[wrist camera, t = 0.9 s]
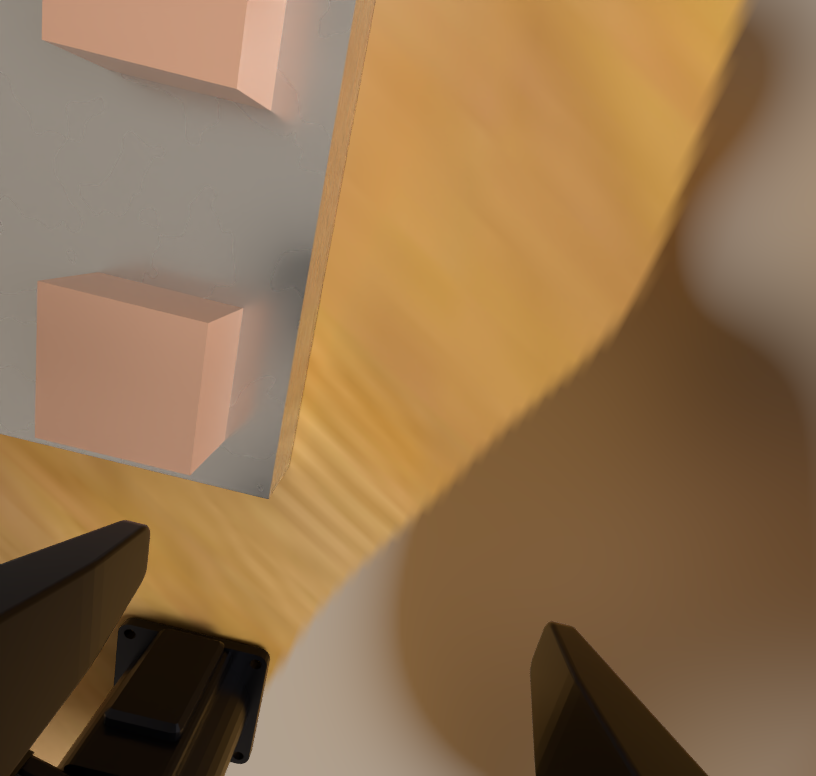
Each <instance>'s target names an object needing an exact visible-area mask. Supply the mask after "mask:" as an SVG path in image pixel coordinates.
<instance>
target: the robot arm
mask: <svg viewBox="0 0 816 776" xmlns="http://www.w3.org/2000/svg"><path fill="white" fill-rule="evenodd" d="M149 541H150V530H149V527H148V526H147V525H144V524H140V523H136V522H132V521H127V520H123V521H119V522H116V523H114V524H111V525H108V526H105V527H102V528H100V529H97V530H94V531H91V532H89V533H86V534H83V535H80V536H78V537H75V538H72V539H69V540H66V541H64V542H61V543H58V544H55V545H53V546H50V547H47V548H44V549H41V550H39V551H36V552H33V553H30V554H28V555H25V556H22V557H19V558H16V559H14V560H11V561H8V562H5V563H3V564H0V776H224V775H225V773H226V770H227V768H228V765H229V763H230V762H233V763H237V764H243V763H245V762H247V761H248V759H249V757H250V754H251V751H252V747H253V741H254V737H255V732H256V727H257V722H258V717H259V712H260V707H261V702H262V697H263V692H264V686H265V681H266V676H267V671H268V666H269V661H270V656H269V654H268V652H266V651H265V650H264V649H261V648H258V647H254V646H250V645H245V644H241V643H237V642H233V641H229V640H225V639H220V638H216V637H212V636H208V635H204V634H200V633H196V632H191V631H187V630H183V629H179V628H175V627H171V626H166V625H162V624H158V623H154V622H150V621H146V620H141V619H137V618H129V619H127V620H126V621H125V622H124V623H123V624H122V625H121V627H120V628H119V631H118V641H117V653H116V665H115V678H114V687H113V689H112V690H111V692H110V693H109V694H108V696H107V697H106V699H105V700H104V702H103V703H102V704H101V706H100V707H99V709H98V710H97V711H96V713H95V714H94V716H93V717H92V718H91V720H90V721H89V723H88V724H87V726H86V727H85V728H84V730H83V731H82V733H81V734H80V735H79V737H78V738H77V740H76V741H75V743H74V744H73V745H72V747H71V748H70V750H69V751H68V752H67V754H66V755H65V757H64V758H63V759H62V761H61V762H60V764H59V765H58V767H55V766H53V765H51V764H49V763H47V762H45V761H43V760H41V759H39V758H37V757H35V756H33V754H34V752H33V751H31V750H29V749H30V748H31V746H32V745H33V743H34V742H35V741H36V739H37V738H38V737H39V735H40V734H41V733H42V731H43V730H44V729H45V727H46V726H47V725H48V723H49V722H50V721H51V719H52V718H53V717H54V715H55V714H56V713H57V711H58V710H59V709H60V707H61V706H62V705H63V703H64V702H65V701H66V699H67V698H68V697H69V695H70V694H71V693H72V691H73V690H74V689H75V687H76V686H77V685H78V683H79V682H80V681H81V679H82V678H83V676H84V675H85V674H86V672H87V671H88V669H89V668H90V666H91V665H92V663H93V662H94V660H95V659H96V657H97V655H98V654H99V652H100V650H101V649H102V647H103V646H104V644H105V642H106V641H107V639H108V637H109V636H110V634H111V632H112V631H113V629H114V627H115V626H116V624H117V622H118V621H119V619H120V617H121V616H122V614H123V612H124V611H125V609H126V607H127V606H128V604H129V603H130V601H131V599H132V598H133V596H134V594H135V593H136V591H137V589H138V588H139V586H140V584H141V583H142V581H143V578H144V576H145V573H146V570H147V562H148V552H149ZM132 630H133V631H132ZM255 660H258V661H260V662H258V661H255ZM530 682H531V701H532V723H533V743H534V761H535V773H536V776H708V775H707V774H706V773H705V771H703V769H702V768H701V767H700V766H699V765H698V764H697V763H696V761H695V760H694V759H693V758H692V757H691V756H690V755H689V754H688V753H687V752H686V750H685V749H684V748H683V747H682V746H681V745H680V744H679V743H678V742H677V740H676V739H675V738H674V737H673V736H672V735H671V734H670V733H669V732H668V731H667V729H666V728H665V727H664V726H663V725H662V724H661V723H660V722H659V721H658V719H657V718H656V717H655V716H654V715H653V714H652V713H651V712H650V711H649V709H648V708H647V707H646V706H645V705H644V704H643V703H642V702H641V701H640V700H639V698H638V697H637V696H636V695H635V694H634V693H633V692H632V691H631V690H630V689H629V687H628V686H627V685H626V684H625V683H624V682H623V681H622V680H621V679H620V677H619V676H618V675H617V674H616V673H615V672H614V671H613V670H612V669H611V667H610V666H609V665H608V664H607V663H606V662H605V661H604V660H603V659H602V657H601V656H600V655H599V654H598V653H597V652H596V651H595V650H594V649H593V648H592V646H591V645H590V644H589V643H588V642H587V641H586V640H585V639H584V638H583V636H582V635H581V634H580V633H579V632H578V631H577V630H576V629H575V628H574V627H572V626H570V625H566V624H562V623H557V622H553V621H551V622H548V623H547V624H546V626H545V627H544V629H543V632H542V635H541V637H540V640H539V642H538V645H537V648H536V650H535V653H534V655H533V658H532V662H531V668H530Z"/></svg>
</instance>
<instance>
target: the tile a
mask: <svg viewBox="0 0 816 776" xmlns="http://www.w3.org/2000/svg"><path fill="white" fill-rule="evenodd" d="M242 314H243V308H241V307H237V306H233V305H229V304H225V303H221V302H217V301H213V300H209V299H205V298H201V297H197V296H193V295H189V294H185V293H181V292H177V291H173V290H169V289H165V288H161V287H156V286H152V285H148V284H144V283H140V282H136V281H132V280H128V279H124V278H120V277H116V276H112V275H108V274H104V273H100V272H95V273H88V274H81V275H74V276H67V277H60V278H53V279H46V280H39V281H37V336H36V393H35V438H38V439H42V440H46V441H50V442H55V443H59V444H63V445H67V446H71V447H75V448H79V449H83V450H87V451H91V452H96V453H100V454H104V455H108V456H112V457H116V458H120V459H124V460H128V461H132V462H136V463H141V464H145V465H149V466H153V467H157V468H161V469H165V470H169V471H173V472H177V473H182V474H186V475H191V474H192V473H193V472H194V471H195V470H196V469H197V468H198V467H199V466H200V465H201V464H202V463H203V462H204V461H205V460H206V459H207V458H208V457H209V456H210V455H211V454H212V453H213V452H214V451H215V450H216V449H217V448H218V447H219V446H220V445H221V444H222V443H223V442H224V441H225V435H226V428H227V421H228V414H229V406H230V399H231V392H232V385H233V378H234V371H235V364H236V357H237V350H238V342H239V335H240V328H241V321H242Z"/></svg>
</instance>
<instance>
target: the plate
mask: <svg viewBox="0 0 816 776" xmlns="http://www.w3.org/2000/svg"><path fill="white" fill-rule="evenodd" d="M374 5H375V0H287V1H286V8H285V15H284V22H283V29H282V37H281V44H280V51H279V58H278V65H277V72H276V79H275V86H274V93H273V101H272V108H271V111H269V110H265V109H261V108H257V107H253V106H249V105H245V104H241V103H237V102H233V101H229V100H225V99H221V98H217V97H213V96H209V95H205V94H201V93H197V92H193V91H189V90H185V89H181V88H178V87H174V86H170V85H166V84H162V83H158V82H154V81H150V80H146V79H142V78H138V77H134V76H130V75H126V74H122V73H118V72H114V71H110V70H107V69H105V68H103V67H101V66H99V65H96V64H94V63H92V62H90V61H88V60H85V59H83V58H81V57H79V56H77V55H74V54H72V53H70V52H68V51H65V50H63V49H61V48H59V47H57V46H54V45H52V44H50V43H48V42H46V41H43V40H42V0H0V434H3V435H8V436H12V437H16V438H20V439H24V440H28V441H32V442H36V443H40V444H44V445H49V446H53V447H57V448H61V449H65V450H69V451H73V452H77V453H81V454H85V455H90V456H94V457H98V458H102V459H106V460H110V461H114V462H118V463H122V464H126V465H131V466H135V467H139V468H143V469H147V470H151V471H155V472H159V473H163V474H167V475H172V476H176V477H180V478H184V479H188V480H192V481H196V482H200V483H204V484H208V485H213V486H217V487H221V488H225V489H229V490H233V491H237V492H241V493H245V494H249V495H253V496H258V497H262V498H266V499H269V498H270V496H271V494H272V493H273V491H274V490H275V488H276V486H277V485H278V483H279V482H280V480H281V478H282V477H283V475H284V474H285V472H286V471H287V469H288V467H289V464H290V458H291V453H292V447H293V442H294V437H295V431H296V426H297V420H298V415H299V410H300V404H301V399H302V393H303V388H304V383H305V377H306V372H307V367H308V361H309V356H310V350H311V345H312V340H313V334H314V329H315V323H316V318H317V313H318V307H319V302H320V296H321V291H322V286H323V280H324V275H325V269H326V264H327V259H328V253H329V248H330V242H331V237H332V232H333V226H334V221H335V215H336V210H337V205H338V199H339V194H340V189H341V183H342V178H343V172H344V167H345V162H346V156H347V151H348V145H349V140H350V135H351V129H352V124H353V118H354V113H355V108H356V102H357V97H358V91H359V86H360V81H361V75H362V70H363V64H364V59H365V54H366V48H367V43H368V37H369V32H370V27H371V21H372V16H373V11H374ZM95 272H100V273H104V274H108V275H112V276H116V277H120V278H124V279H128V280H132V281H136V282H140V283H144V284H148V285H152V286H156V287H161V288H165V289H169V290H173V291H177V292H181V293H185V294H189V295H193V296H197V297H201V298H205V299H209V300H213V301H217V302H221V303H225V304H229V305H233V306H237V307H241V308H243V314H242V321H241V328H240V335H239V342H238V350H237V357H236V364H235V371H234V378H233V385H232V392H231V399H230V406H229V414H228V421H227V428H226V435H225V441H224V442H223V443H222V444H221V445H220V446H219V447H218V448H217V449H216V450H215V451H214V452H213V453H212V454H211V455H210V456H209V457H208V458H207V459H206V460H205V461H204V462H203V463H202V464H201V465H200V466H199V467H198V468H197V469H196V470H195V471H194V472H193V473H192V474H191V475H186V474H182V473H177V472H173V471H169V470H165V469H161V468H157V467H153V466H149V465H145V464H141V463H136V462H132V461H128V460H124V459H120V458H116V457H112V456H108V455H104V454H100V453H96V452H91V451H87V450H83V449H79V448H75V447H71V446H67V445H63V444H59V443H55V442H50V441H46V440H42V439H38V438H35V393H36V336H37V281H39V280H46V279H53V278H60V277H67V276H74V275H81V274H88V273H95Z"/></svg>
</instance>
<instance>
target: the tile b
mask: <svg viewBox="0 0 816 776" xmlns="http://www.w3.org/2000/svg"><path fill="white" fill-rule="evenodd" d="M286 1H287V0H42V40H43V41H46V42H48V43H50V44H52V45H54V46H57V47H59V48H61V49H63V50H65V51H68V52H70V53H72V54H74V55H77V56H79V57H81V58H83V59H85V60H88V61H90V62H92V63H94V64H96V65H99V66H101V67H103V68H105V69H107V70H110V71H114V72H118V73H122V74H126V75H130V76H134V77H138V78H142V79H146V80H150V81H154V82H158V83H162V84H166V85H170V86H174V87H178V88H181V89H185V90H189V91H193V92H197V93H201V94H205V95H209V96H213V97H217V98H221V99H225V100H229V101H233V102H237V103H241V104H245V105H249V106H253V107H257V108H261V109H265V110H269V111H271V108H272V101H273V93H274V86H275V79H276V72H277V65H278V58H279V51H280V44H281V37H282V29H283V22H284V15H285V8H286Z"/></svg>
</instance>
